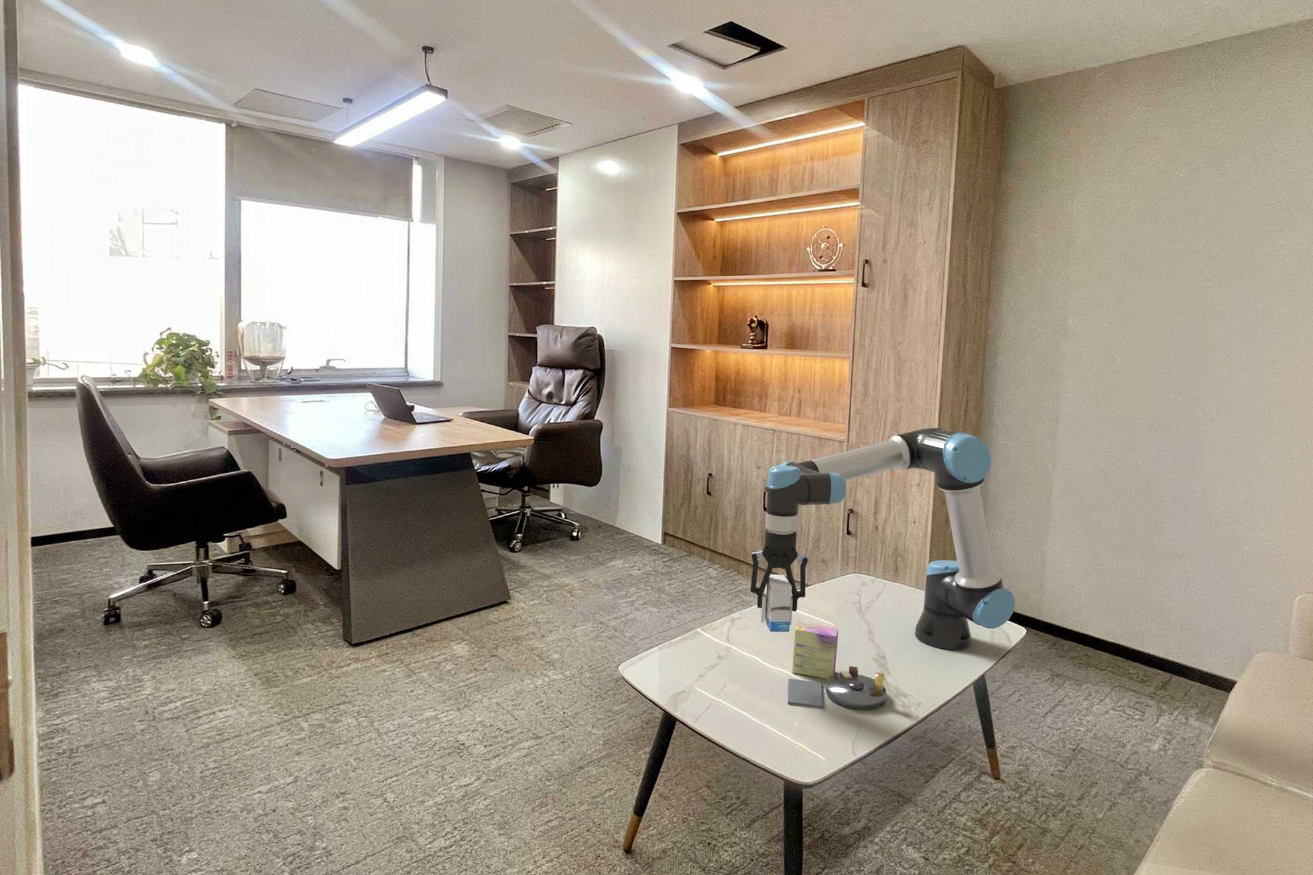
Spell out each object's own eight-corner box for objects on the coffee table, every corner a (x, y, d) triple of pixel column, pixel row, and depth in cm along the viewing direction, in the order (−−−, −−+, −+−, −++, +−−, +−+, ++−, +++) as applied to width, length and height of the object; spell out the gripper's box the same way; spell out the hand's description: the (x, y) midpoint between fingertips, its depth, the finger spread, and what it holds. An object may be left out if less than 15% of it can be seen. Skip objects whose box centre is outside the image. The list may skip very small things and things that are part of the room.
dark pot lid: (894, 693, 179) (896, 666, 178) (871, 715, 168) (873, 687, 167) (841, 675, 188) (842, 649, 187) (815, 695, 177) (817, 667, 176)
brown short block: (856, 678, 188) (857, 666, 187) (857, 682, 185) (858, 671, 185) (848, 677, 188) (849, 666, 187) (849, 681, 186) (849, 670, 185)
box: (835, 670, 191) (838, 627, 190) (833, 680, 186) (836, 636, 184) (795, 663, 195) (798, 621, 193) (791, 673, 189) (794, 629, 188)
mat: (821, 684, 183) (821, 682, 183) (822, 708, 172) (822, 705, 172) (788, 680, 185) (788, 678, 185) (787, 703, 173) (787, 701, 173)
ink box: (789, 633, 176) (793, 586, 175) (768, 632, 176) (772, 585, 174) (781, 618, 185) (785, 574, 183) (761, 618, 185) (765, 573, 183)
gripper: (820, 529, 179) (815, 619, 182) (743, 523, 182) (739, 612, 186) (821, 537, 172) (815, 631, 175) (740, 531, 175) (736, 623, 179)
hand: (776, 621), depth 180 cm, fingers closed on ink box, 6 cm apart
